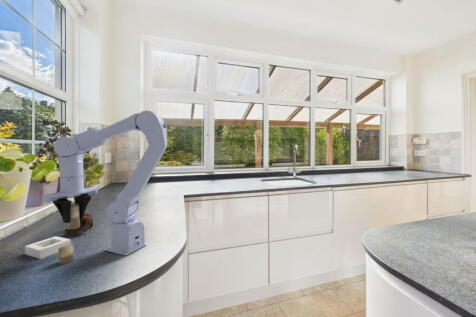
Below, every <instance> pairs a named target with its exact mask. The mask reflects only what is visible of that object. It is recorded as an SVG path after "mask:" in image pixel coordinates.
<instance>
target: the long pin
mask: <svg viewBox="0 0 476 317" xmlns="http://www.w3.org/2000/svg"><path fill="white" fill-rule="evenodd" d="M66 226H67V227H66V228H67V229H68V230H71V229H76V228H79V227H80V212H79V204H75V203H71V208H70V223H66Z"/></svg>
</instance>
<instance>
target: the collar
mask: <svg viewBox="0 0 476 317" xmlns="http://www.w3.org/2000/svg"><path fill="white" fill-rule="evenodd" d="M65 245H72V239H70V238H66V237H61V236H57V235H56V236H52V237H49V238H46V239H43V240H40V241H37V242H33V243H30V244H27V245H25V246H24V254H25V256H26V255H27V256H30V257H33V258H36V259H39V260H40V259H45V258H47V257H50V256H52V255H55V254H59V251H58V249H59V248H60V247H62V246H65Z"/></svg>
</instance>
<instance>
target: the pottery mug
mask: <svg viewBox="0 0 476 317" xmlns="http://www.w3.org/2000/svg"><path fill="white" fill-rule="evenodd" d="M93 217H94V216H93V214H89V213H84V217H83V219H80V227H79V228H76V229H71V230H68V229H67V225H66V228H65V229H63V231H62V232H63V236H65V237H66V236H79V235H80V231H81V232H83V233H85V232H87V231H88V230H89V228H90V229H91V228H93V227H94V219H93Z"/></svg>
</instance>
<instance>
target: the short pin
mask: <svg viewBox="0 0 476 317" xmlns="http://www.w3.org/2000/svg"><path fill="white" fill-rule="evenodd" d="M58 251H59V252H58V264H59V265H66V264H69V263H71V262H73V261H74V258H75V256H74V244H71V245H65V246H62V247H60V248H59V249H58Z"/></svg>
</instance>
